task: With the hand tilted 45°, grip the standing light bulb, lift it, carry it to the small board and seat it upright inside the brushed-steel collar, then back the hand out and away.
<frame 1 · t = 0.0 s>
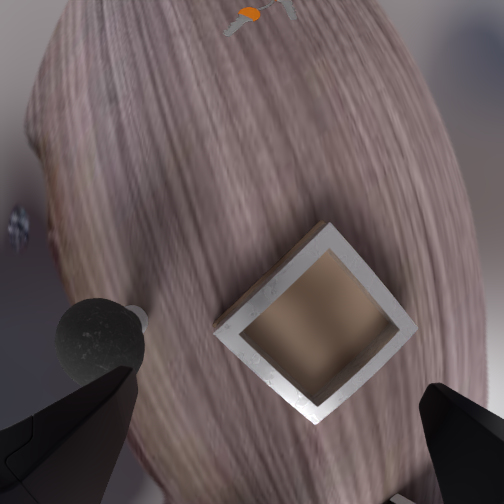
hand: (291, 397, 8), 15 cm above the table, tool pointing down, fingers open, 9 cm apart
socket board: (315, 323, 24), on the table
light bulb: (138, 317, 24), on the table
socket collar: (321, 330, 22), on the socket board, point 1 cm above the table
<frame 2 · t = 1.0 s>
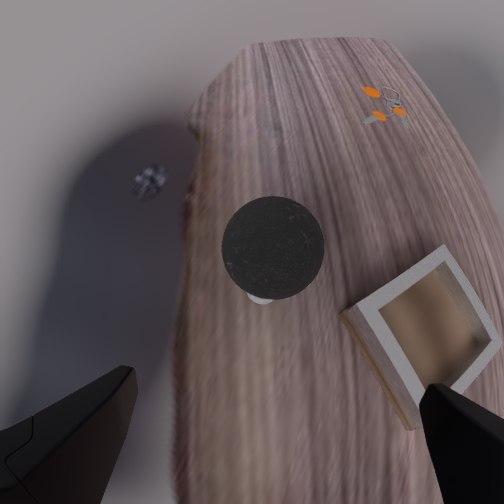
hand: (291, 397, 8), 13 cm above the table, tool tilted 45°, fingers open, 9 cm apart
socket board: (422, 337, 22), on the table
light bulb: (261, 293, 24), on the table
key chain: (384, 109, 37), on the table
socket collar: (435, 330, 21), on the socket board, point 1 cm above the table
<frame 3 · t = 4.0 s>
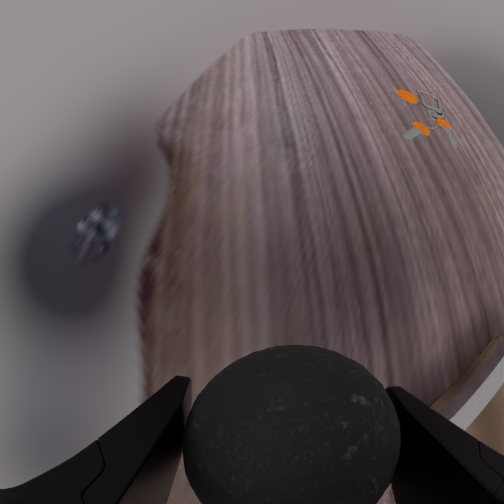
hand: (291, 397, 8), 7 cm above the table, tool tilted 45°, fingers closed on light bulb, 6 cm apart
socket board: (477, 453, 12), on the table
light bulb: (263, 428, 13), on the table, touching gripper
key chain: (424, 119, 27), on the table
socket collar: (498, 453, 10), on the socket board, point 1 cm above the table
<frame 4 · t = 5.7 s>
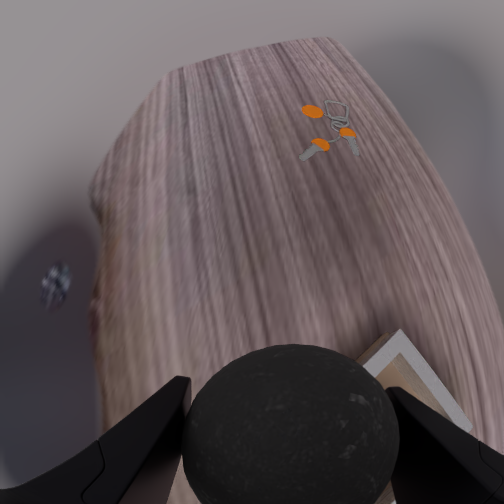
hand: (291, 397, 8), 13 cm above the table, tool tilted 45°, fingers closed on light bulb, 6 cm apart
socket board: (374, 433, 19), on the table
light bulb: (262, 427, 13), point 6 cm above the table, touching gripper
key chain: (328, 132, 34), on the table
socket collar: (387, 435, 17), on the socket board, point 1 cm above the table
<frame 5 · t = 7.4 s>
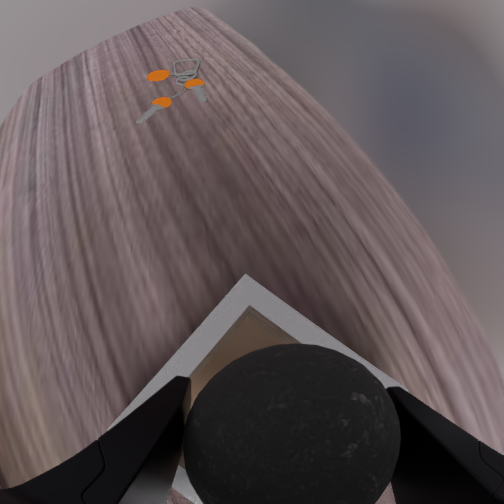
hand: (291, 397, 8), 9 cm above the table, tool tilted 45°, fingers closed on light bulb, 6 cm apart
socket board: (259, 420, 15), on the table
light bulb: (262, 427, 13), point 2 cm above the table, touching gripper
key chain: (174, 89, 29), on the table
socket collar: (263, 422, 14), on the socket board, point 1 cm above the table
when the fingers open (9 cm above the table, at t = 7.8 s): light bulb drops 1 cm, resting on socket board.
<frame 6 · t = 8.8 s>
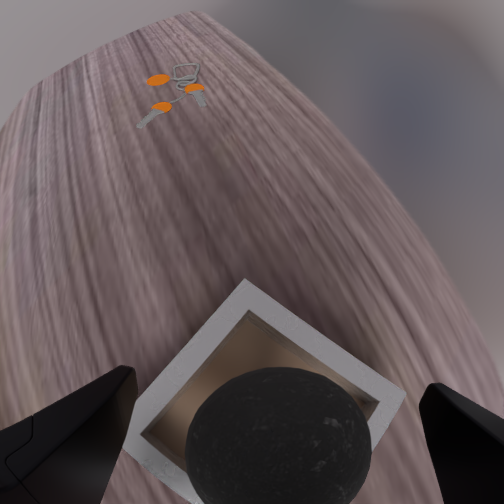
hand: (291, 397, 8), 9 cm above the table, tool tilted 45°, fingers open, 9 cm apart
socket board: (259, 423, 15), on the table
light bulb: (260, 428, 14), point 1 cm above the table, touching socket board
key chain: (174, 94, 30), on the table
socket collar: (262, 425, 14), on the socket board, point 1 cm above the table
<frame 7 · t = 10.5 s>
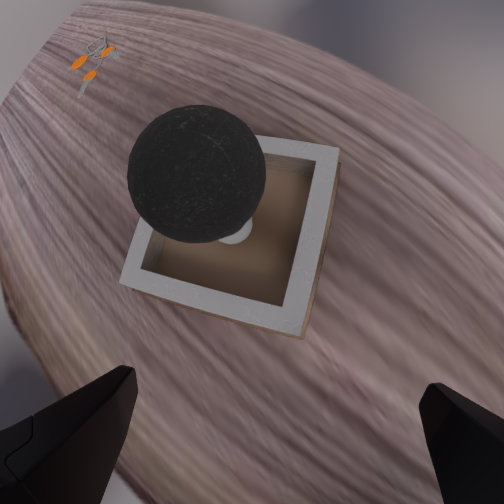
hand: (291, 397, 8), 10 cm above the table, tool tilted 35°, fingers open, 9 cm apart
socket board: (238, 230, 20), on the table
light bulb: (236, 230, 19), point 1 cm above the table, touching socket board
key chain: (95, 64, 30), on the table
socket collar: (230, 220, 18), on the socket board, point 1 cm above the table
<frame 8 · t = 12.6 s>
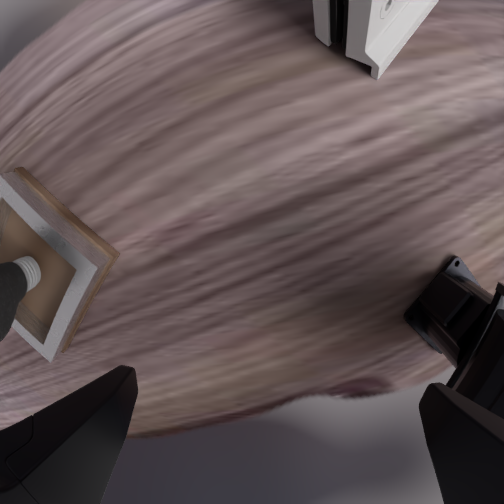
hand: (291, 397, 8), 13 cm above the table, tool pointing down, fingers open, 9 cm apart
socket board: (40, 263, 21), on the table
light bulb: (36, 266, 20), point 1 cm above the table, touching socket board
socket collar: (26, 271, 19), on the socket board, point 1 cm above the table
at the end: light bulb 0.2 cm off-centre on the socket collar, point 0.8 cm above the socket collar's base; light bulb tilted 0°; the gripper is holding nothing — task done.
